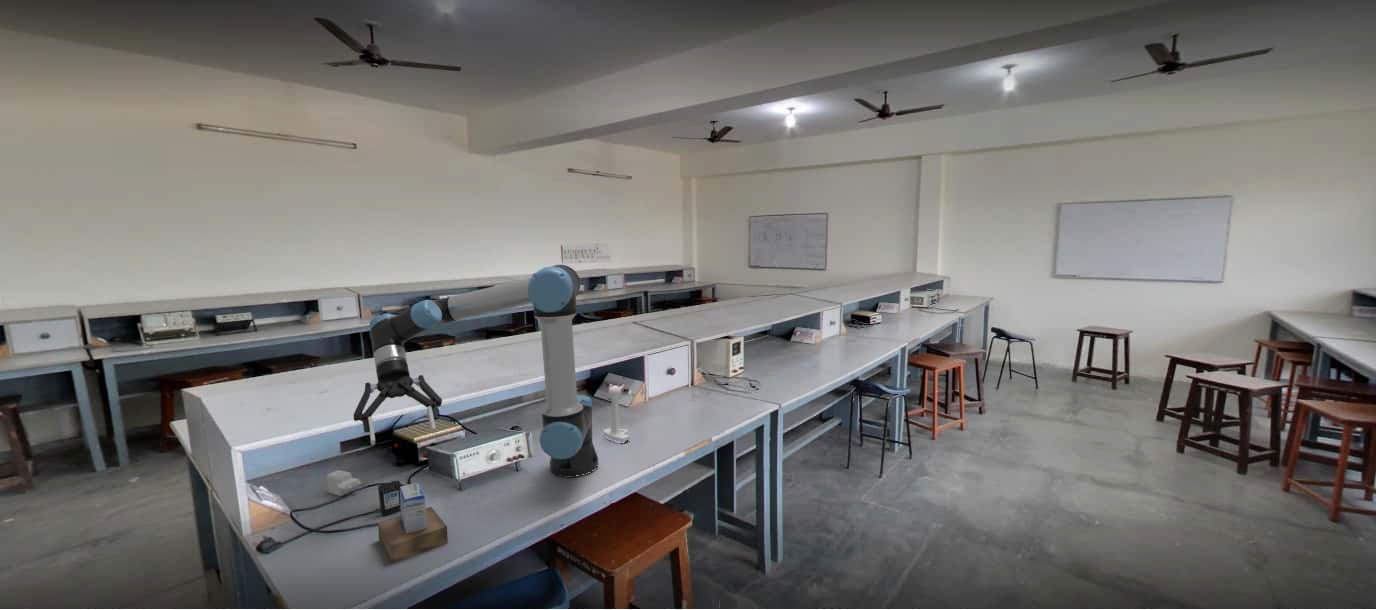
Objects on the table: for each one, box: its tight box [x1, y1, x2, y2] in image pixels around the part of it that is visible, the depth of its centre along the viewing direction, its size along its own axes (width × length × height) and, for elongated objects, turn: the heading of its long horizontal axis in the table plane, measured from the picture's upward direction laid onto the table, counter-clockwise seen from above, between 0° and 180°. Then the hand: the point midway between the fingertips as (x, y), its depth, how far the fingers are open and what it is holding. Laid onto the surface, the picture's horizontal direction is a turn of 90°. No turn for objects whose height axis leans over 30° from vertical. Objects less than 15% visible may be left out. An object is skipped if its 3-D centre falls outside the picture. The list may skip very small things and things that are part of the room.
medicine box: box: [400, 482, 426, 534], centre depth 127 cm, size 8×4×9 cm, turn 35°
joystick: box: [602, 385, 631, 442], centre depth 191 cm, size 11×8×20 cm
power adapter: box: [326, 469, 366, 497], centre depth 150 cm, size 11×5×6 cm, turn 69°
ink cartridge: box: [377, 479, 402, 517], centre depth 140 cm, size 5×2×8 cm, turn 131°
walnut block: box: [377, 506, 449, 565], centre depth 127 cm, size 12×12×5 cm
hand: (404, 436), depth 134 cm, fingers open, 13 cm apart
